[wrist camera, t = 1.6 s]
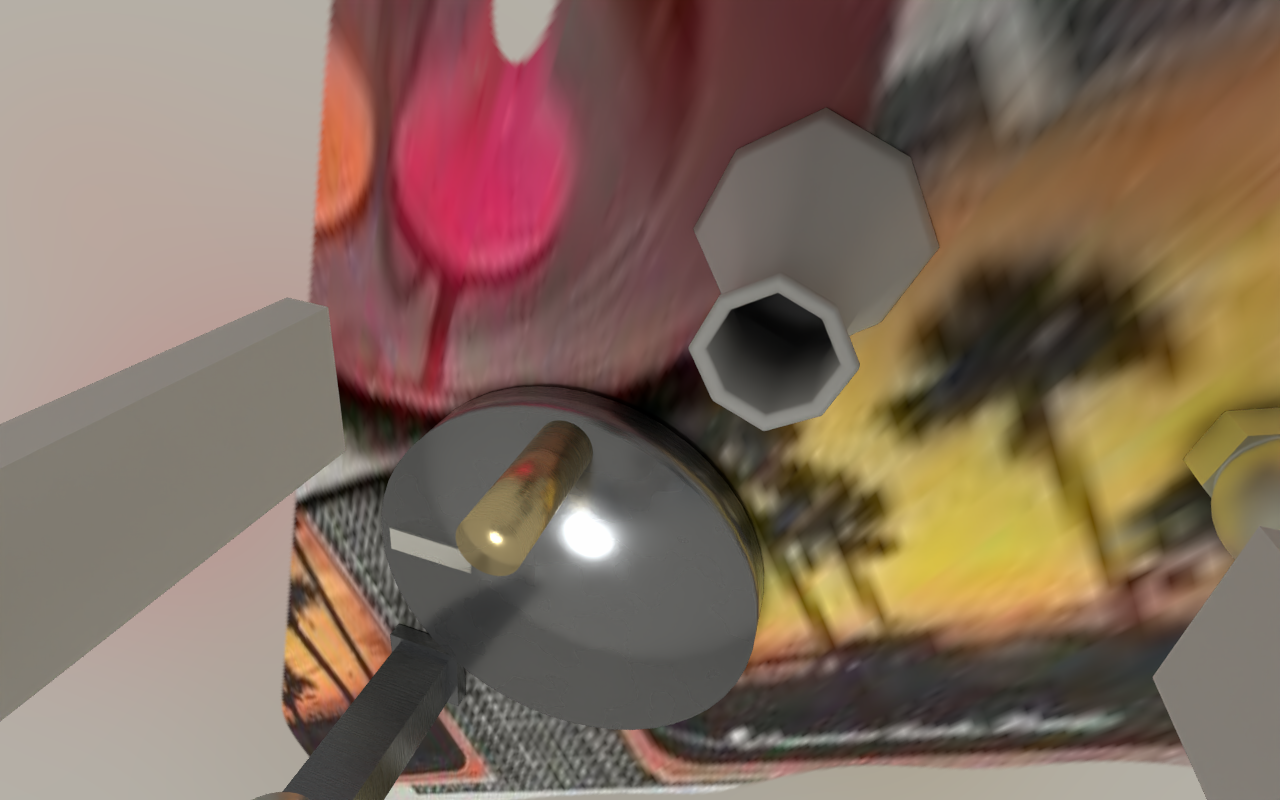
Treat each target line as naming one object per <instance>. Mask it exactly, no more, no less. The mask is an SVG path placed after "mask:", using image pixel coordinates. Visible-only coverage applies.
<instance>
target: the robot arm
mask: <svg viewBox="0 0 1280 800" xmlns="http://www.w3.org/2000/svg"><path fill="white" fill-rule="evenodd" d="M345 451H346V449H345V441H344V433H343V425H342V417H341V409H340V401H339V393H338V384H337V376H336V368H335V360H334V352H333V344H332V336H331V328H330V320H329V312H328V307H325V306H321V305H317V304H313V303H308V302H304V301H300V300H296V299H291V298H285V299H282V300H280V301H278V302H276V303H274V304H271V305H269V306H267V307H264V308H262V309H260V310H258V311H255V312H253V313H251V314H249V315H246V316H244V317H242V318H240V319H237V320H235V321H233V322H230V323H228V324H226V325H224V326H222V327H219V328H217V329H215V330H212V331H210V332H208V333H206V334H203V335H201V336H199V337H196V338H194V339H192V340H190V341H187V342H185V343H183V344H181V345H179V346H176V347H174V348H172V349H169V350H167V351H165V352H163V353H160V354H158V355H156V356H154V357H152V358H149V359H147V360H144V361H142V362H140V363H138V364H135V365H133V366H131V367H129V368H126V369H124V370H122V371H120V372H117V373H115V374H113V375H111V376H108V377H106V378H104V379H102V380H99V381H97V382H95V383H92V384H90V385H88V386H86V387H83V388H81V389H79V390H77V391H74V392H72V393H70V394H68V395H65V396H63V397H61V398H58V399H56V400H54V401H52V402H49V403H47V404H45V405H43V406H41V407H38V408H36V409H34V410H31V411H29V412H27V413H24V414H22V415H20V416H18V417H15V418H13V419H11V420H9V421H6V422H4V423H2V424H0V721H1V720H2V719H4V718H5V717H6V716H8V715H9V714H10V713H12V712H13V711H14V710H15V709H17V708H18V707H19V706H20V705H22V704H23V703H24V702H26V701H27V700H28V699H29V698H31V697H32V696H33V695H35V694H36V693H37V692H38V691H39V690H41V689H42V688H43V687H45V686H46V685H47V684H49V683H50V682H51V681H52V680H54V679H55V678H56V677H57V676H59V675H60V674H61V673H63V672H64V671H65V670H66V669H67V668H69V667H70V666H72V665H73V664H74V663H75V662H76V661H78V660H79V659H80V658H82V657H83V656H84V655H85V654H87V653H88V652H89V651H91V650H92V649H93V648H94V647H96V646H97V645H98V644H100V643H101V642H102V641H103V640H105V639H106V638H107V637H109V636H110V635H111V634H112V633H114V632H115V631H116V630H117V629H119V628H120V627H121V626H123V625H124V624H125V623H126V622H128V621H129V620H130V619H131V618H133V617H134V616H135V615H136V614H138V613H139V612H140V611H142V610H143V609H144V608H145V607H147V606H148V605H149V604H150V603H152V602H153V601H154V600H156V599H157V598H158V597H159V596H161V595H162V594H163V593H165V592H166V591H167V590H168V589H170V588H171V587H172V586H174V585H175V584H176V583H177V582H179V581H180V580H181V579H182V578H184V577H185V576H186V575H188V574H189V573H190V572H191V571H193V570H194V569H195V568H197V567H198V566H199V565H200V564H202V563H203V562H204V561H205V560H207V559H208V558H209V557H210V556H212V555H213V554H214V553H216V552H217V551H218V550H219V549H220V548H222V547H223V546H225V545H226V544H227V543H228V542H230V541H231V540H232V539H234V538H235V537H236V536H237V535H239V534H240V533H241V532H242V531H244V530H245V529H246V528H248V527H249V526H250V525H251V524H252V523H254V522H255V521H256V520H258V519H259V518H260V517H262V516H263V515H264V514H265V513H267V512H268V511H269V510H270V509H272V508H273V507H274V506H276V505H277V504H278V503H279V502H281V501H282V500H283V499H284V498H286V497H287V496H288V495H290V494H291V493H292V492H293V491H295V490H296V489H297V488H299V487H300V486H301V485H302V484H304V483H305V482H306V481H308V480H309V479H310V478H311V477H313V476H314V475H315V474H316V473H318V472H319V471H320V470H322V469H323V468H324V467H325V466H327V465H328V464H329V463H330V462H332V461H333V460H334V459H336V458H337V457H338V456H339V455H341V454H342V453H343V452H345ZM1153 679H1154V682H1155V684H1156V686H1157V688H1158V691H1159V693H1160V695H1161V697H1162V700H1163V702H1164V704H1165V706H1166V709H1167V711H1168V713H1169V715H1170V718H1171V720H1172V722H1173V724H1174V727H1175V729H1176V731H1177V733H1178V736H1179V738H1180V740H1181V742H1182V745H1183V747H1184V749H1185V751H1186V754H1187V756H1188V758H1189V760H1190V763H1191V765H1192V767H1193V769H1194V772H1195V774H1196V776H1197V778H1198V781H1199V783H1200V785H1201V787H1202V789H1203V792H1204V794H1205V796H1206V799H1207V800H1280V530H1275V529H1271V528H1267V527H1262V526H1259V527H1258V529H1257V530H1256V531H1255V533H1254V534H1253V536H1252V537H1251V538H1250V540H1249V541H1248V543H1247V544H1246V546H1245V547H1244V548H1243V550H1242V551H1241V553H1240V554H1239V555H1238V557H1237V558H1236V560H1235V561H1234V563H1233V564H1232V565H1231V567H1230V568H1229V570H1228V571H1227V572H1226V574H1225V575H1224V577H1223V578H1222V580H1221V581H1220V582H1219V584H1218V585H1217V587H1216V588H1215V589H1214V591H1213V592H1212V594H1211V595H1210V597H1209V598H1208V599H1207V601H1206V602H1205V604H1204V605H1203V606H1202V608H1201V609H1200V611H1199V612H1198V614H1197V615H1196V616H1195V618H1194V619H1193V621H1192V622H1191V623H1190V625H1189V626H1188V628H1187V629H1186V631H1185V632H1184V633H1183V635H1182V636H1181V638H1180V639H1179V640H1178V642H1177V643H1176V645H1175V646H1174V648H1173V649H1172V650H1171V652H1170V653H1169V655H1168V656H1167V657H1166V659H1165V660H1164V662H1163V663H1162V665H1161V666H1160V667H1159V669H1158V670H1157V672H1156V673H1155V674H1154V676H1153Z"/></svg>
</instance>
